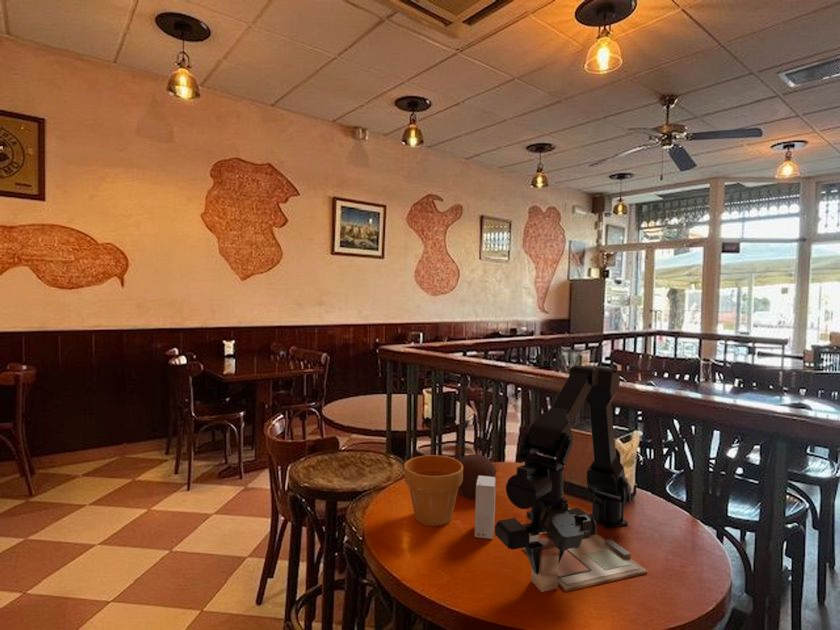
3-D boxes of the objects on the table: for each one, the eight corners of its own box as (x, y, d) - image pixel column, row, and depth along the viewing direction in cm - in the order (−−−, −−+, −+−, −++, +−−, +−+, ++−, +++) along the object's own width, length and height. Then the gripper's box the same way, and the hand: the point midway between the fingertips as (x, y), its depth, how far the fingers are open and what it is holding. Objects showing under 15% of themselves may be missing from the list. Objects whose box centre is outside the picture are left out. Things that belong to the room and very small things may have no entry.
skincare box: (493, 539, 105) (494, 487, 105) (474, 537, 106) (475, 485, 106) (494, 526, 111) (496, 476, 111) (476, 524, 112) (477, 474, 112)
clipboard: (596, 535, 108) (596, 529, 108) (647, 573, 94) (647, 565, 93) (522, 549, 102) (522, 542, 102) (565, 591, 87) (565, 583, 87)
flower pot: (394, 525, 111) (395, 471, 110) (415, 500, 124) (416, 451, 124) (452, 537, 106) (453, 480, 106) (468, 510, 120) (469, 459, 119)
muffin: (498, 502, 124) (499, 465, 123) (456, 501, 124) (456, 464, 124) (492, 484, 136) (493, 449, 135) (453, 483, 136) (454, 449, 135)
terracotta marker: (547, 577, 92) (548, 537, 91) (558, 588, 88) (559, 546, 88) (530, 580, 91) (532, 539, 90) (541, 592, 87) (542, 549, 87)
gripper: (526, 517, 78) (523, 608, 79) (618, 502, 84) (615, 587, 85) (494, 489, 88) (492, 571, 89) (578, 478, 94) (576, 554, 95)
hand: (544, 571), depth 89 cm, fingers closed on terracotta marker, 3 cm apart
